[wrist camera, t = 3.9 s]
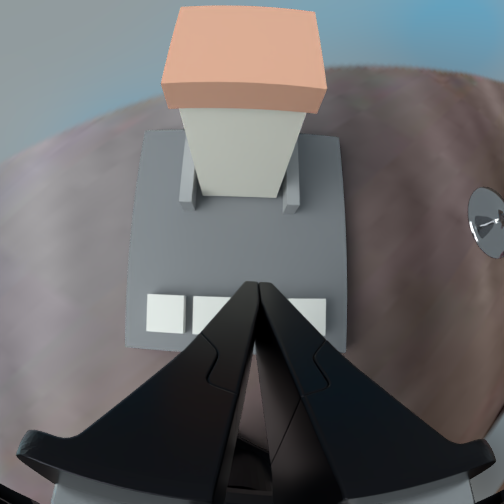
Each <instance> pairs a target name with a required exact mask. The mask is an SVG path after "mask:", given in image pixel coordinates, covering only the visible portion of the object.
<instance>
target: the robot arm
mask: <svg viewBox="0 0 504 504" xmlns="http://www.w3.org/2000/svg"><path fill="white" fill-rule="evenodd" d="M254 343H255V350H256V358H257V366H258V373H259V381H260V388H261V396H262V403H263V411H264V418H265V426H266V433H267V441H268V448H269V452H268V451H266V450H264V449H262V448H260V447H258V446H256V445H254V444H252V443H250V442H248V441H246V440H244V439H242V438H241V437H239V436H237V435H238V430H239V424H240V419H241V414H242V409H243V404H244V399H245V393H246V388H247V383H248V377H249V372H250V367H251V361H252V356H253V350H254ZM16 456H17V457H18V459H20V460H21V461H22V462H23V463H25V464H26V465H27V466H29V467H30V468H32V469H33V470H34V471H36V472H37V473H39V474H40V475H42V476H43V477H45V478H46V479H48V480H49V481H51V482H52V483H54V484H55V487H54V491H53V495H52V499H51V504H504V490H502V491H500V492H498V493H496V494H494V495H492V496H490V497H488V498H486V499H484V500H481V501H479V502H477V503H475V500H474V496H473V491H472V487H471V483H470V479H471V478H473V477H475V476H476V475H478V474H480V473H482V472H483V471H485V470H486V469H488V468H489V467H491V466H492V465H493V464H494V463H495V462H496V459H495V456H494V453H493V451H492V448H491V447H490V445H489V444H488V443H487V441H486V440H485V439H478V440H474V441H471V442H468V443H464V444H457V443H453V442H451V441H449V440H447V439H446V438H444V437H443V436H442V435H441V434H439V433H438V432H437V431H436V430H434V429H433V428H432V427H430V426H429V425H428V424H427V423H425V422H424V421H423V420H422V419H420V418H419V417H418V416H416V415H415V414H414V413H413V412H411V411H410V410H409V409H408V408H406V407H405V406H404V405H403V404H401V403H400V402H399V401H398V400H396V399H395V398H394V397H393V396H391V395H390V394H389V393H388V392H386V391H385V390H384V389H383V388H381V387H380V386H379V385H378V384H376V383H375V382H374V381H373V380H371V379H370V378H369V377H368V376H366V375H365V374H364V373H363V372H362V371H360V370H359V369H358V368H357V367H355V366H354V365H353V364H352V363H351V362H350V361H349V360H347V359H346V358H345V357H344V356H343V355H342V354H341V353H340V352H339V351H338V350H337V349H336V348H335V347H334V346H333V345H332V344H331V343H330V342H329V341H328V340H326V339H325V338H324V337H323V335H322V334H321V333H320V332H319V331H318V330H317V329H316V328H315V327H314V326H313V325H312V324H311V323H310V322H309V321H308V320H307V319H306V318H305V317H304V316H303V315H302V314H301V313H300V312H299V311H298V310H297V309H296V307H295V306H294V305H293V304H292V303H291V302H290V301H289V300H288V299H287V298H286V297H285V296H284V295H283V294H282V293H281V292H280V291H279V290H278V289H277V288H276V287H275V286H274V285H273V284H272V283H271V282H259V284H258V282H256V281H245V282H244V283H243V284H242V285H241V287H240V288H239V289H238V290H237V291H236V292H235V293H234V295H233V296H232V297H231V298H230V299H229V300H228V301H227V303H226V304H225V305H224V306H223V307H222V308H221V309H220V311H219V312H218V313H217V314H216V315H215V316H214V317H213V319H212V320H211V321H210V322H209V323H208V324H207V325H206V326H205V328H204V329H203V330H202V331H201V332H200V333H199V334H198V335H197V336H196V337H195V338H194V340H193V341H192V342H191V343H190V344H189V345H188V346H187V347H186V348H185V349H184V350H183V351H182V352H181V353H180V354H178V355H177V356H176V357H175V358H174V359H173V360H172V361H170V362H169V363H168V364H167V365H166V366H164V367H163V368H162V369H161V370H159V371H158V372H157V373H156V374H155V375H153V376H152V377H151V378H150V379H148V380H147V381H146V382H145V383H143V384H142V385H141V386H140V387H139V388H137V389H136V390H135V391H134V392H132V393H131V394H130V395H129V396H127V397H126V398H125V399H124V400H122V401H121V402H120V403H119V404H117V405H116V406H115V407H114V408H112V409H111V410H110V411H108V412H107V413H106V414H105V415H103V416H102V417H101V418H100V419H98V420H97V421H96V422H94V423H93V424H92V425H91V426H89V427H88V428H87V429H85V430H84V431H83V432H82V433H80V434H78V435H77V436H74V437H70V438H62V437H57V436H54V435H51V434H48V433H45V432H42V431H38V430H29V431H27V432H26V434H25V435H24V437H23V439H22V441H21V442H20V445H19V447H18V450H17V453H16ZM0 504H39V503H38V502H36V501H34V500H32V499H30V498H28V497H26V496H24V495H21V494H19V493H17V492H15V491H13V490H11V489H9V488H7V487H6V486H4V485H2V484H0Z"/></svg>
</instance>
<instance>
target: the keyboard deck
mask: <svg viewBox="0 0 504 504" xmlns="http://www.w3.org/2000/svg"><path fill="white" fill-rule="evenodd" d="M245 281H256V282H258V284H259V282H271V283H272V284H273V285H274V286H275V287H276V288H277V289H278V290H279V291H280V292H281V293H282V294H283V295H284V296H285V297H286V298H287V299H288V300H289V301H290V302H291V303H292V304H293V305H294V306H295V307H296V309H297V310H298V311H299V312H300V313H301V314H302V315H303V316H304V317H305V318H306V319H307V320H308V321H309V322H310V323H311V324H312V325H313V326H314V327H315V328H316V329H317V330H318V331H319V332H320V333H321V334H322V335H323V337H324V338H325V339H326V340H328V341H329V342H330V343H331V344H332V345H333V346H334V347H335V348H336V349H337V350H338V351H339V352H340V353H345V352H346V336H347V254H346V226H345V207H344V191H343V177H342V165H341V154H340V143H339V137H333V136H324V135H313V134H302V133H299V136H298V138H297V141H296V144H295V147H294V150H293V152H292V155H291V158H290V161H289V163H288V166H287V169H286V172H285V175H284V177H283V180H282V183H281V186H280V188H279V191H278V194H277V197H276V198H265V197H237V196H203V194H202V191H201V187H200V184H199V180H198V177H197V173H196V170H195V166H194V162H193V159H192V155H191V151H190V148H189V144H188V140H187V137H186V133H185V130H152V131H145V134H144V140H143V146H142V151H141V158H140V164H139V170H138V177H137V184H136V192H135V200H134V208H133V217H132V226H131V236H130V247H129V260H128V275H127V294H126V326H125V347H131V348H142V349H153V350H166V351H180V352H182V351H183V350H184V349H185V348H186V347H187V346H188V345H189V344H190V343H191V342H192V341H193V340H194V338H195V337H196V336H197V335H198V334H199V333H200V332H201V331H202V330H203V329H204V328H205V326H206V325H207V324H208V323H209V322H210V321H211V320H212V319H213V317H214V316H215V315H216V314H217V313H218V312H219V311H220V309H221V308H222V307H223V306H224V305H225V304H226V303H227V301H228V300H229V299H230V298H231V297H232V296H233V295H234V293H235V292H236V291H237V290H238V289H239V288H240V287H241V285H242V284H243V283H244V282H245ZM253 354H256V350H255V343H254V350H253Z"/></svg>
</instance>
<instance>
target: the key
mask: <svg viewBox="0 0 504 504" xmlns="http://www.w3.org/2000/svg"><path fill="white" fill-rule="evenodd" d="M161 85H162V89H163V92H164V95H165V99H166V102H167V105H168V108H169V109H177V108H179V110H180V114H181V118H182V122H183V126H184V129H185V133H186V137H187V140H188V144H189V148H190V151H191V155H192V159H193V162H194V166H195V170H196V173H197V177H198V180H199V184H200V187H201V191H202V194H203V196H237V197H265V198H276V197H277V194H278V191H279V188H280V186H281V183H282V180H283V177H284V175H285V172H286V169H287V166H288V163H289V161H290V158H291V155H292V152H293V150H294V147H295V144H296V141H297V138H298V136H299V133H300V130H301V127H302V124H303V122H304V119H305V116H306V113H315V114H317V112H318V110H319V108H320V105H321V103H322V100H323V98H324V95H325V93H326V90H327V85H326V78H325V71H324V64H323V57H322V51H321V44H320V38H319V32H318V27H317V21H316V16H315V12H310V11H303V10H295V9H285V8H273V7H257V6H190V7H181V8H180V11H179V15H178V18H177V22H176V25H175V29H174V32H173V37H172V40H171V44H170V48H169V51H168V56H167V59H166V64H165V68H164V72H163V77H162V81H161Z"/></svg>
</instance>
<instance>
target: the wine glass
mask: <svg viewBox="0 0 504 504" xmlns="http://www.w3.org/2000/svg"><path fill="white" fill-rule="evenodd" d="M468 220H469V226H470V229H471V232H472V235H473V237H474V239H475V241H476V243H477V245H478V246H479V247H480V249H481V250H482V251H483V252H484V253H485V254H486V255H488V256H489V257H492V258H495V259H499V258H502V257H504V199H503V197H502V196H501V195H500V194H499V193H498V192H496V191H495V190H493V189H492V188H489V187H480V188H478V189H476V190H475V191H474V192H473V193H472V195H471V197H470V200H469V204H468Z"/></svg>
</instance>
